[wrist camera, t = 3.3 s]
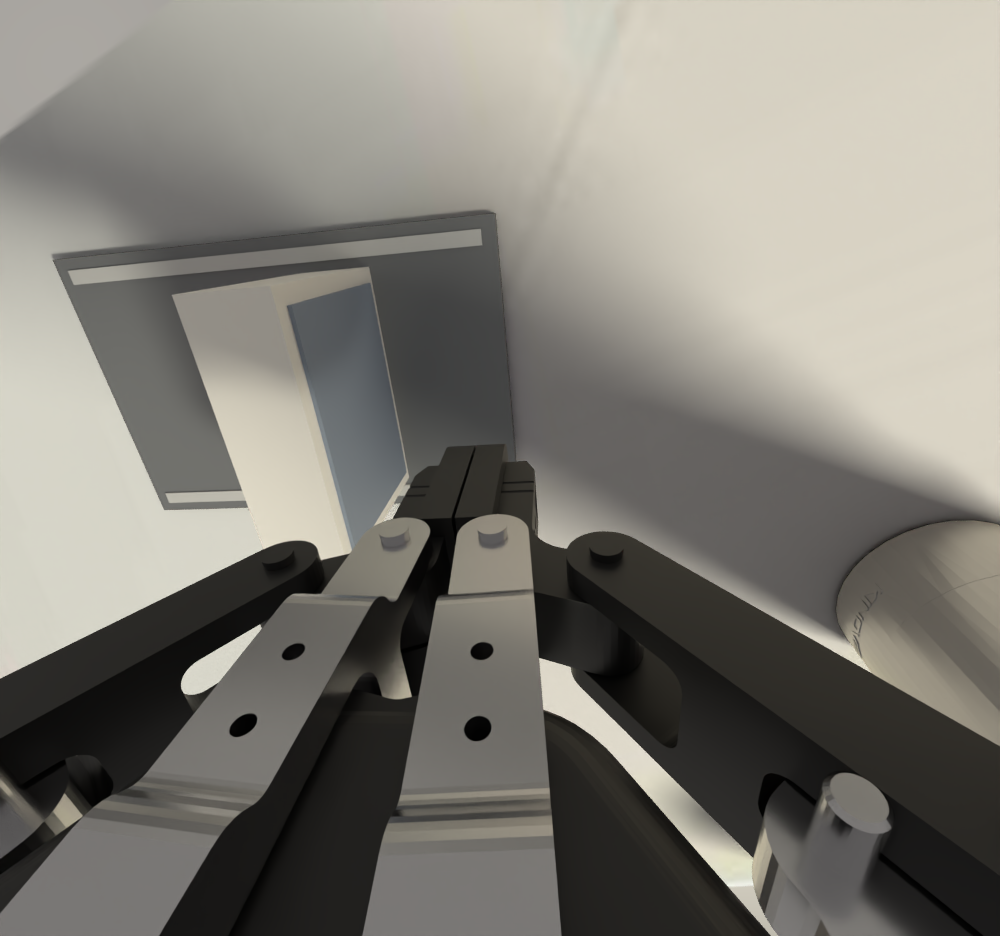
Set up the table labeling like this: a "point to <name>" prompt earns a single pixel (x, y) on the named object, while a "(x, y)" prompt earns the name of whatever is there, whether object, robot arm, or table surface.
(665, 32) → the table surface
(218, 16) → the table surface
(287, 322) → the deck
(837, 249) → the table surface
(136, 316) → the mat
